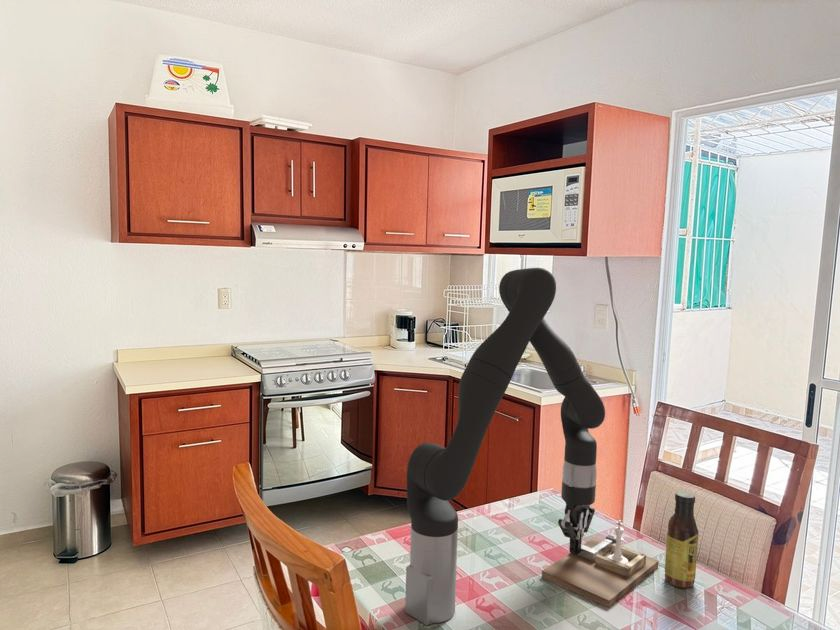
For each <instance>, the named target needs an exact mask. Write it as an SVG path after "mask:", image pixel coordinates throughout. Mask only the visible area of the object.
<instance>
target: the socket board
mask: <svg viewBox="0 0 840 630" xmlns="http://www.w3.org/2000/svg"><path fill="white" fill-rule="evenodd" d="M614 537H615V536H613V535H611V534H608V535H607V536H605V539H608V540H611V541H613V543H612V550H610V551H609V552H607V553H606V554H604V555H603V556H602V555H599V554H598V555H596V558H595V561H594V562H593V561H590V560H588V559H585V558H583V557H580V556H578V555H575V554H572V553H570V552H569V553H567V554H566V555H564V556H562V557H561V558H560V559H558V560H557V561H555V562H553V563H551V564H550V565H548V566H547V567H545V568H544V569H542V570H541V578H542V579H545V580H547V581H549V582H551V583H554V584H556V585H558V586H560V587H562V588H564V589H567V590H569V591H571V592H574V593H576V594H578V595H580V596H582V597H585V598H586V599H589V600H591V601H593V602H596V603H598V604H600V605H602V606H604V607H607V608H611V606H612V605H614V604H615V603H617V602H618V601H619V600H620V599H621V598H622V597H624V596H625V595H626V594H627V593H628V592H629V591H631V590H632V589H633V588H635V587H636V586H637V585H638V584H640V583H641V582H642V581H643V580H645V578H647V577H648V576H649V575H650V574H651V573H653V572H654V571H655V570H656V569H658V567H659V560H657V559H655V558H652V557H649V556H648V555H647V554H644V553H642V552H639V551H636V550H634V549H631V548H628V547H626V546H622V545H621V553H622V555H623V557H625V558H627V559H628V561H629V563H627V564H626V565H625V564H622V563H620V562H617V561H615V560H612V559H610V558H607V556H609V555H613V554H614V552H615V547H616V540H614ZM605 539H601V538H599V537H596V536H594V537H593V538H592V539H590V540H588V541H587V542H585V543H584V544H583V545H585V546H588V547H590V548H593V547H595V546H596V545H598V544H599V543H601V542H602V541H604V540H605Z"/></svg>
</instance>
